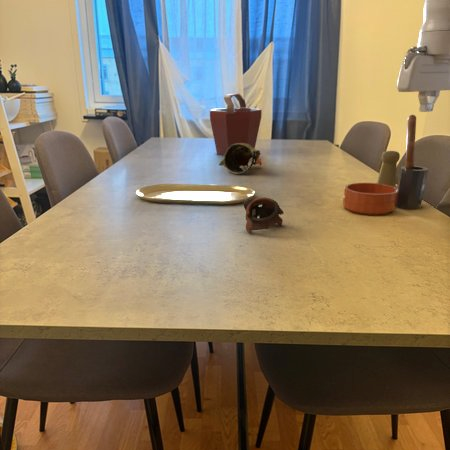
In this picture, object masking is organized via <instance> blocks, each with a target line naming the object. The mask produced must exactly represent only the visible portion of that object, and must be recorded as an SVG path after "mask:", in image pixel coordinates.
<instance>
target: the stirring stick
mask: <svg viewBox="0 0 450 450" xmlns="http://www.w3.org/2000/svg"><path fill="white" fill-rule="evenodd" d="M406 128H407V129H406V147H405V148H406V149H405V166H406V167H405V168H406V169H412V170H414V166H415V150H416V134H417V133H416V131H417V116H416V115H415V114H411V115H409V116H408V117H407V123H406Z"/></svg>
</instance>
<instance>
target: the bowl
mask: <svg viewBox="0 0 450 450" xmlns="http://www.w3.org/2000/svg"><path fill="white" fill-rule="evenodd" d="M398 193H399V189H397V186H396V187H393V186H390V185H385V184H379V183H377V182H354V183H353V182H352V183H347V184H346V185H345V186H344V191H343V200H342V206H343V207H344V208H345V209H347V210H348V211H349V212H352V213H355V214H359V215H360V214H361V215H370V216H381V215H386V214H389V213H391V212H394V211H395V210H396V209H397V207H396V204H397V199H398Z"/></svg>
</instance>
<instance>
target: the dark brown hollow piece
mask: <svg viewBox="0 0 450 450" xmlns="http://www.w3.org/2000/svg"><path fill="white" fill-rule="evenodd" d="M243 208H244V210H245V220H246V224H245V230H246V231H247V233H249V234H251V233H252V232H254V231H261V230H268V229H269V228H272V227H274V226H275V225H278V226H279V227H282V226H283V222H284V220H283V218H282V217H281V215H284V210H283V209H282V208H281V207H280V205H279V203H278V202H277V201H276V200H275V199H273V198H270V197H266V196H265V197H262V196H261V197H257V198H255V199H252V198H251V199H247V200H246V201H245V202H243Z"/></svg>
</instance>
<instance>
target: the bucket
mask: <svg viewBox="0 0 450 450" xmlns="http://www.w3.org/2000/svg"><path fill="white" fill-rule="evenodd" d="M233 97H235V100H237V101H238V104H239V107H235V103H234V102H233V100H232V98H233ZM223 100H224V102H225V104H226V105H227V106H226V107H225V108H212V109H210V110H209V120H210V125H211V131H212V136H213V140H214V146H215V151H216V155H217V156H223V157H224V155H225V152H226V151H227V149H228V148H229V147H230V146H231V145H232V144H235V143H246V144H249V145H251V146H252V147H253V148H254V149H255V150H256V144H257V140H258V135H259V130H260V125H261V121H262V113H263V112H262V109H261V108H253V107H247V103H246V100H245V98H243V96H242V95H241V94H240V93H235V92H231V93H227V94H226V95H224V96H223Z"/></svg>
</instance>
